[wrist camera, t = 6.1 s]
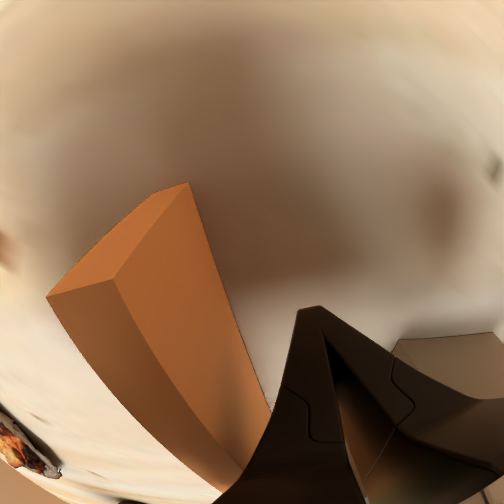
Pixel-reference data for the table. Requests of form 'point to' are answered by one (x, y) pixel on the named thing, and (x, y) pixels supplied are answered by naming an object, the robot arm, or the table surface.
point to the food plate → (23, 450)
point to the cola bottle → (129, 502)
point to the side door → (167, 336)
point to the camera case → (454, 367)
